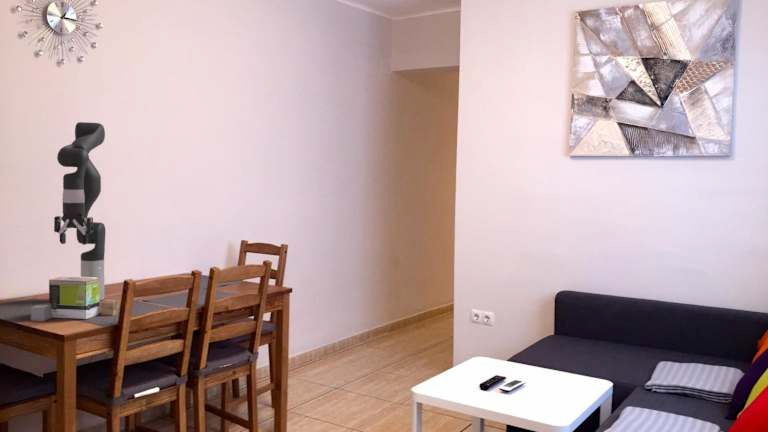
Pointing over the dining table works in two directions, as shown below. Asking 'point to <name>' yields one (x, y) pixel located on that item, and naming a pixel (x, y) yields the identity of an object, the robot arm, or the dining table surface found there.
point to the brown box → (109, 307)
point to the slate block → (41, 312)
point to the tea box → (74, 297)
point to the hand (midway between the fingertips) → (73, 244)
